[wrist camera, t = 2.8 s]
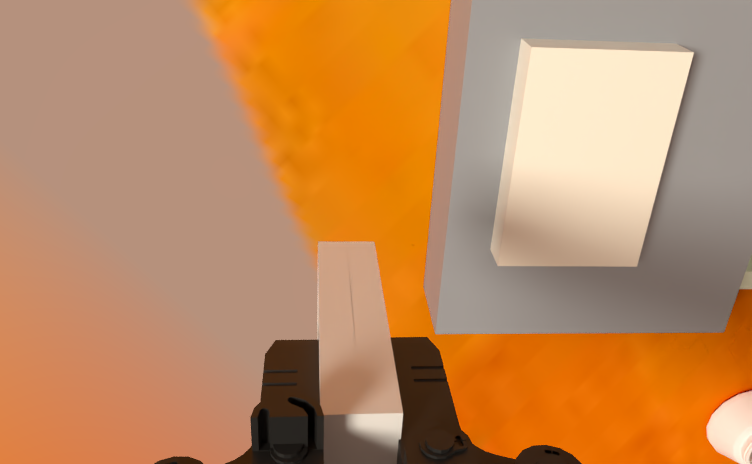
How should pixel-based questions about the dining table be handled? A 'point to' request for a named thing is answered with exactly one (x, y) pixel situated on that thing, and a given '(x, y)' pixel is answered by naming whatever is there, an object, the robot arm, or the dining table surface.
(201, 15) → the dining table surface
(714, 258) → the grey drawer casing
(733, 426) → the white jar
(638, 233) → the card
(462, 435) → the robot arm
